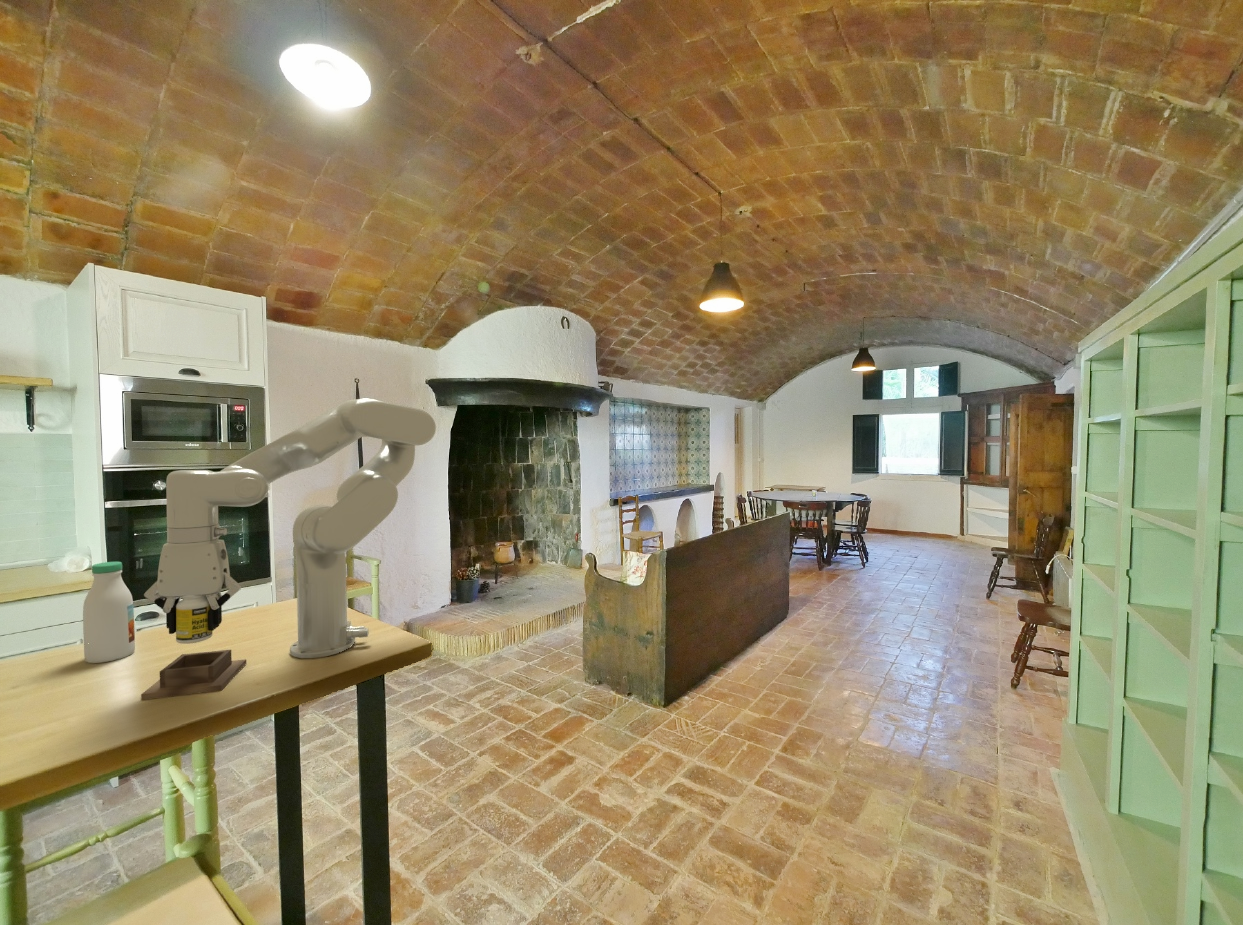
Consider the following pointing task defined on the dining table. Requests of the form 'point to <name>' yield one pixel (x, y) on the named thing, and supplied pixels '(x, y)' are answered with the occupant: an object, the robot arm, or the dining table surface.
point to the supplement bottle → (192, 619)
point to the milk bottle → (108, 616)
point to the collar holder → (195, 674)
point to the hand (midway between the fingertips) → (194, 629)
